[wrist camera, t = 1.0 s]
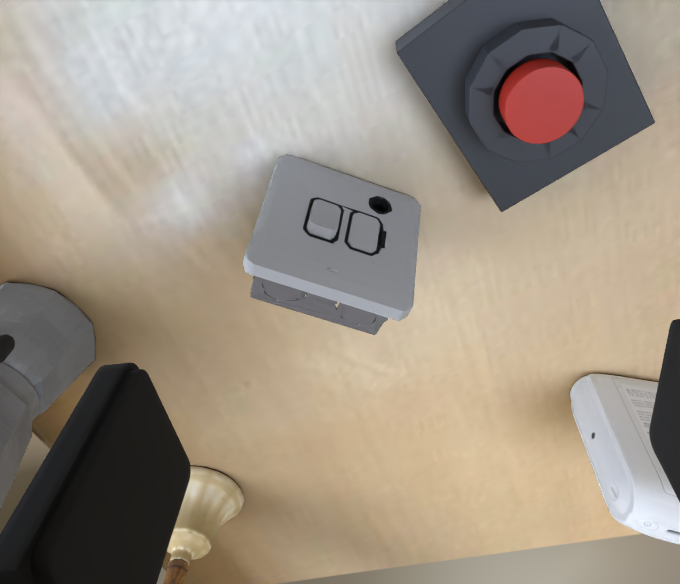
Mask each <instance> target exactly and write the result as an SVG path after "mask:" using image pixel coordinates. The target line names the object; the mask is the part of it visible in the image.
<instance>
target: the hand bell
mask: <svg viewBox="0 0 680 584" xmlns="http://www.w3.org/2000/svg"><path fill="white" fill-rule="evenodd" d="M190 467H191V474H190V480H189V483H188V487H187V490H186V493H185V496H184V499H183V502H182V505H181V508H180V511H179V515H178V518H177V521H176V524H175V527H174V530H173V533H172V536H171V539H170V543H169V546H168V549H167V551H168V552H169V553H170V554H172V556H171V559H170V562H169V564H168V570H167V572H166V576H165V579H164V583H163V584H183V582H184V579H185V576H186V573H187V571H188V568H189V564H190V561H191V559H197V558H201V557H203V556H205V555H206V554H207V553H208V552H209V550H210V548H211V546H212V543H213V541H214V539H215V536H216V534H217V532H218V531H219V529H220V527H221V526H222V525H223V524H224V523H225V522H226V521H228V520H230V519H232V518H233V517H235V516H236V515H237V514H238V513H239V511H240V510H241V509H242V507H243V504H244V497H243V493H242V491H241V489H240V488H239V486H238V485H237V484H236V483H235V482H234V481H233V480H232V479H230V478H229V477H227V476H226V475H224V474H222V473H220V472H217V471H215V470H211V469H208V468H204V467H195V466H190Z"/></svg>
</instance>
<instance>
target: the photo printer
mask: <svg viewBox="0 0 680 584" xmlns="http://www.w3.org/2000/svg"><path fill="white" fill-rule="evenodd" d="M657 388H658V382H653V381H646V380H640V379H633V378H627V377H622V376H614V375H606V374H589V375H588V376H584V377H582V378H580V379H579V380H578V381H577V382H576V383H575V384H574V385H573V387H572V389H571V392H570V398H571V401H572V404H571V409H572V413H573V416H574V419H575V421H576V424H577V427H578V430H579V432H580V435H581V438H582V440H583V443H584V446H585V448H586V451H587V454H588V457H589V459H590V462H591V465H592V467H593V470H594V473H595V476H596V478H597V481H598V484H599V486H600V489H601V492H602V494H603V497H604V500H605V502H606V505H607V508H608V510H609V512H610V513H611V515H612V516H613V517H614V519H615V520H616V521H618V522H620V523H621V524H623V525H625V526H627V527H629V528H631V529H633V530H635V531H638V532H640V533H643V534H646V535H649V536H651V537H654V538H658V539H661V540H665V541H668V542H672V543H676V544H680V502H679V500H678V498H677V496H676V494H675V492H674V490H673V488H672V486H671V484H670V482H669V480H668V478H667V476H666V474H665V472H664V470H663V468H662V466H661V464H660V462H659V460H658V458H657V457H656V455H655V453H654V450H653V448H652V445H651V442H650V436H649V428H650V423H651V418H652V413H653V408H654V403H655V398H656V393H657Z"/></svg>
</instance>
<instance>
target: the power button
mask: <svg viewBox="0 0 680 584" xmlns="http://www.w3.org/2000/svg"><path fill="white" fill-rule="evenodd" d="M583 104H584V92H583V88H582V85H581V83H580V81H579V80H578V78H577V77H576V76H575V75H574V74H573V73H572V72H570V71H569V70H568V69H567V68H566V67H565V66H563V65H562V64H561V63H559V62H557V61H555V60H552V59H546V58H539V59H533V60H530V61H527V62H525V63H523V64H521V65H520V66H518V67H517V68H516V69H514V70H513V71H512V72H511V73H510V74H509V76H508V77H507V78H506V80H505V81H504V83H503V85H502V87H501V90H500V94H499V110H500V113H501V116H502V118H503V119H504V121H505V123H506V125H507V126H508V128H509V130H510V131H511V132H512V133H513V135H514V136H516V137H517V138H518V139H520V140H522V141H524V142H527V143H531V144H543V143H548V142H551V141H554V140H556V139H558V138H560V137H562V136H563V135H564V134H566V133H567V132H568V131H569V130H570V129H571V128H572V127H573V126H574V125H575V123H576V122H577V120H578V119H579V117H580V114H581V112H582V109H583Z"/></svg>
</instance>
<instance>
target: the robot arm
mask: <svg viewBox="0 0 680 584" xmlns="http://www.w3.org/2000/svg"><path fill="white" fill-rule="evenodd" d="M649 436H650V442H651V445H652V448H653V450H654V453H655V455H656V457H657V458H658V460H659V462H660V464H661V466H662V468H663V470H664V472H665V474H666V476H667V478H668V480H669V482H670V484H671V486H672V488H673V490H674V492H675V494H676V496H677V498H678V500H679V502H680V319H677V320H673V321H672V323H671V325H670V329H669V334H668V339H667V344H666V349H665V354H664V359H663V364H662V369H661V373H660V378H659V383H658V388H657V393H656V398H655V403H654V408H653V413H652V418H651V423H650V428H649ZM190 474H191V467H190V462H189V459H188V457H187V455H186V453H185V451H184V449H183V447H182V444H181V442H180V440H179V438H178V436H177V434H176V432H175V430H174V428H173V426H172V423H171V421H170V419H169V417H168V415H167V413H166V411H165V409H164V407H163V404H162V402H161V400H160V398H159V396H158V394H157V392H156V390H155V388H154V385H153V383H152V381H151V379H150V377H149V375H148V373H147V372H146V371H145V370H142V369H139V368H138V366H137V365H136V364H134V363H123V364H112V365H104V366H102V367H100V368H99V369H98V371H97V372H96V374H95V375H94V377H93V379H92V380H91V382H90V384H89V386H88V387H87V389H86V391H85V392H84V394H83V396H82V397H81V399H80V401H79V402H78V404H77V406H76V407H75V409H74V411H73V413H72V414H71V416H70V418H69V419H68V421H67V423H66V424H65V426H64V428H63V429H62V431H61V433H60V434H59V436H58V438H57V439H56V441H55V443H54V445H53V446H52V448H51V450H50V451H49V453H48V455H47V456H46V458H45V460H44V461H43V463H42V465H41V466H40V468H39V470H38V472H37V473H36V475H35V477H34V478H33V480H32V482H31V483H30V485H29V487H28V488H27V490H26V492H25V493H24V495H23V497H22V499H21V500H20V502H19V504H18V506H17V507H16V509H15V510H14V512H13V514H12V515H11V517H10V519H9V520H8V522H7V524H6V526H5V527H4V529H3V531H2V532H1V534H0V584H156V583H157V580H158V577H159V574H160V570H161V568H162V564H163V561H164V558H165V555H166V552H167V549H168V546H169V543H170V539H171V536H172V533H173V530H174V527H175V524H176V521H177V518H178V515H179V511H180V508H181V505H182V502H183V499H184V496H185V493H186V490H187V487H188V483H189V480H190Z"/></svg>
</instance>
